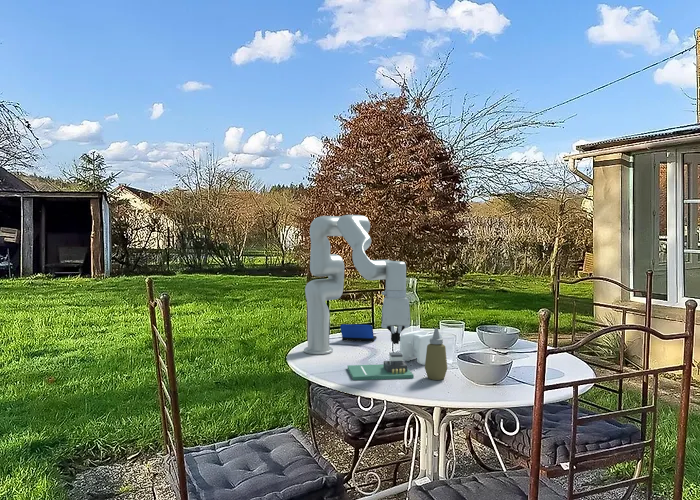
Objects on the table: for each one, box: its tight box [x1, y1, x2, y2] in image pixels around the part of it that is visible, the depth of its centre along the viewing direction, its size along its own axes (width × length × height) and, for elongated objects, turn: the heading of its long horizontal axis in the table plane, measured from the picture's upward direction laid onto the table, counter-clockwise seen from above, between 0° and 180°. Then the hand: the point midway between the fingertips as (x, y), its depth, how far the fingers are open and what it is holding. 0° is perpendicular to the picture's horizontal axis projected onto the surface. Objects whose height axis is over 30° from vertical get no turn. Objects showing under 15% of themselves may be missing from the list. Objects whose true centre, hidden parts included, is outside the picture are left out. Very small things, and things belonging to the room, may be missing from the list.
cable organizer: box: [399, 329, 443, 366], centre depth 219 cm, size 15×11×12 cm
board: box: [347, 360, 415, 381], centre depth 200 cm, size 16×22×5 cm
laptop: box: [339, 323, 378, 343], centre depth 259 cm, size 16×13×9 cm
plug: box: [388, 351, 404, 365], centre depth 201 cm, size 4×4×6 cm
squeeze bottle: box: [424, 328, 448, 381], centre depth 194 cm, size 8×8×18 cm
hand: (395, 343), depth 201 cm, fingers closed
